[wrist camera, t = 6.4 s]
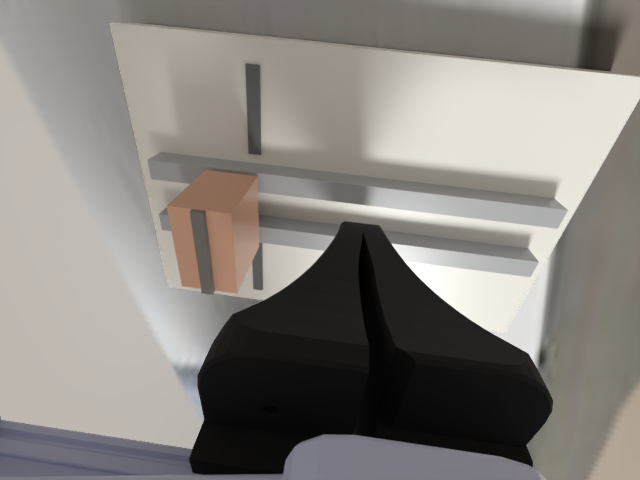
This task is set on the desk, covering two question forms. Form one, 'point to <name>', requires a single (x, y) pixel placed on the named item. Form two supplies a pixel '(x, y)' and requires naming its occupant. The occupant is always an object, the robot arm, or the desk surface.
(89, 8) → the desk surface
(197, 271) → the fader
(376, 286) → the robot arm
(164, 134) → the white slider track board
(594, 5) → the desk surface
